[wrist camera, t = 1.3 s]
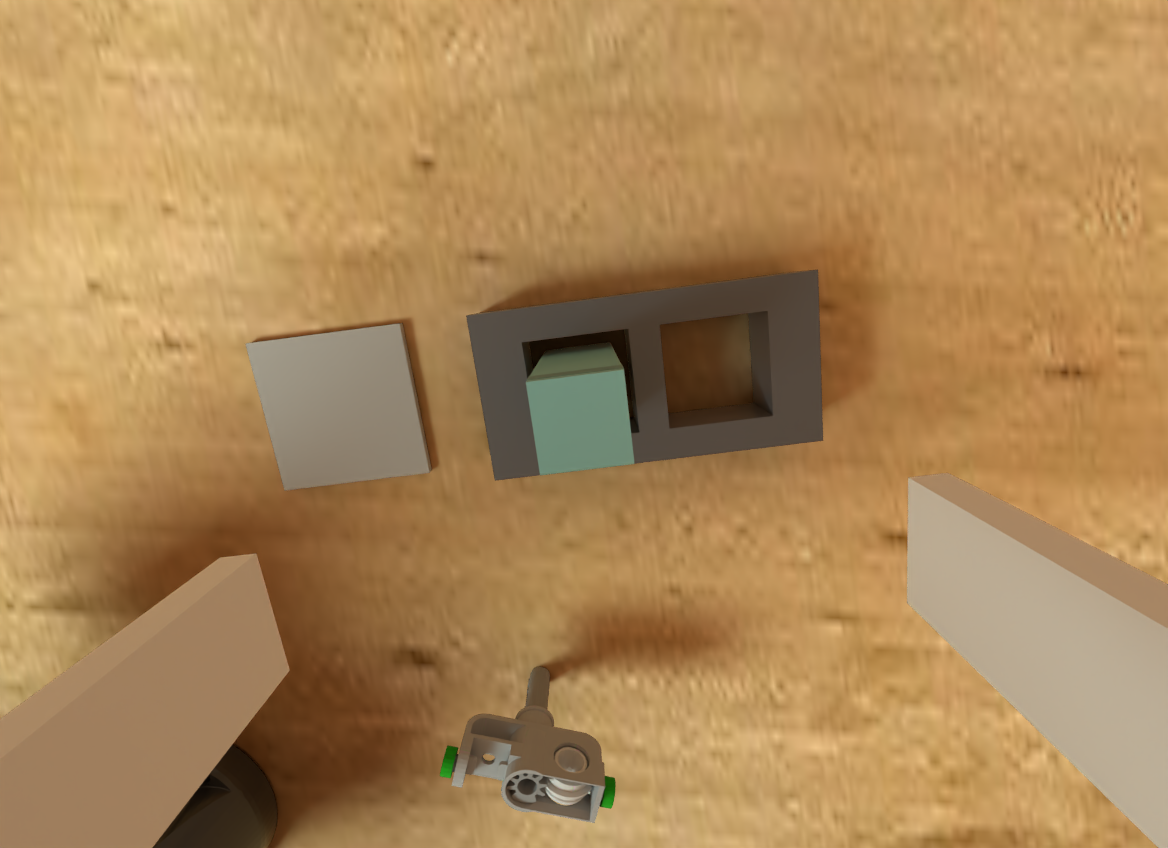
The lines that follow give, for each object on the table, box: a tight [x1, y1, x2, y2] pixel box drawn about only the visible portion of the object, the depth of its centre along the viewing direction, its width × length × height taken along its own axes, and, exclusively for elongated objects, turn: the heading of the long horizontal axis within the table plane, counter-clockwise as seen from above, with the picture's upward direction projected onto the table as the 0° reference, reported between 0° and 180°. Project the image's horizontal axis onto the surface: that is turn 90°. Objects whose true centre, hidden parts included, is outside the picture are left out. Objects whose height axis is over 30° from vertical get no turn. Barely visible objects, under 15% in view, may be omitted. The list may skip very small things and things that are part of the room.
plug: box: [526, 342, 634, 475], centre depth 31 cm, size 4×4×13 cm
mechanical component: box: [440, 667, 615, 823], centre depth 37 cm, size 3×10×10 cm, turn 77°
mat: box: [246, 323, 432, 490], centre depth 37 cm, size 10×10×1 cm
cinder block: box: [466, 270, 823, 480], centre depth 35 cm, size 20×10×4 cm, turn 97°
